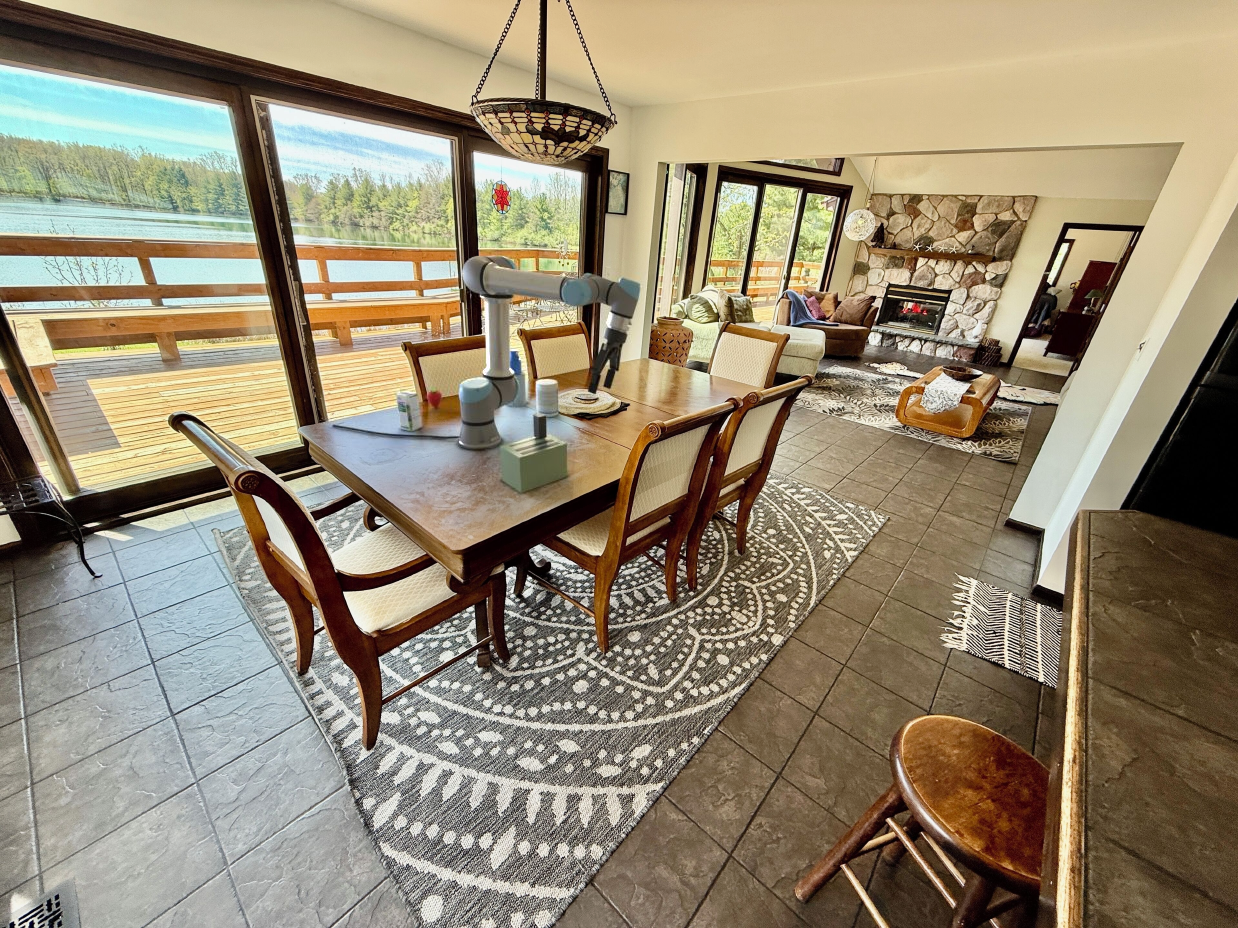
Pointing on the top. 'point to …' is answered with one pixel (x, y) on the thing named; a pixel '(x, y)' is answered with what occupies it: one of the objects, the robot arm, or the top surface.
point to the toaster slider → (540, 426)
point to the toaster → (533, 462)
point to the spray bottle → (518, 378)
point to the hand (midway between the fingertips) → (599, 390)
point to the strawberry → (434, 397)
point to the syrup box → (408, 410)
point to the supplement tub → (547, 397)
